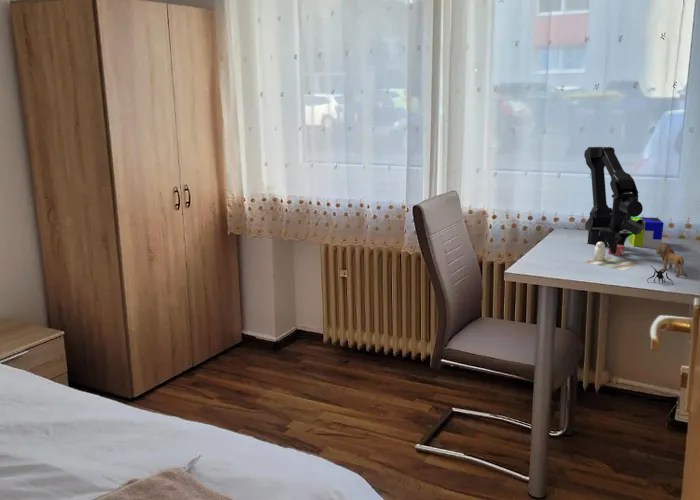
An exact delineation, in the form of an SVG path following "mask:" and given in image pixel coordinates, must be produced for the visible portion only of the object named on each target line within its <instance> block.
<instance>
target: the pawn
mask: <svg viewBox="0 0 700 500" xmlns="http://www.w3.org/2000/svg"><path fill="white" fill-rule="evenodd" d="M606 247H607V246H605V244H604V243H603V242H598V243H597V244H596V245H594V253H593V254H594V255H593V259H594V260H595V261H604V260H605V256H606Z"/></svg>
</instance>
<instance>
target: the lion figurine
mask: <svg viewBox="0 0 700 500" xmlns="http://www.w3.org/2000/svg"><path fill="white" fill-rule="evenodd" d="M654 250H655V253H656V255H658V256H659V257H660V258H661V260H662V261H663V268H661V270H662V271H664V270H666V269H668V268H669V269H668V270H669V271H671V270H673V268H674V270H675V272H676V274H675V277H676V278H679V277H680V275H683V276H684V277H685V278H688V277H689V276H688V275H687V274H686V273H685V271H684V264H685V259H684V257H683V256H682V255H679V254H676V253H675V251H674V249H673V248H672V246H670V245H669V244H667V243H666V242H665V243H664V242H663V243H662V242H661V244H660V246H659V247H658V248H654ZM668 264H669V265H668ZM670 267H671V268H670ZM679 267H680V269H679ZM666 271H667V270H666Z"/></svg>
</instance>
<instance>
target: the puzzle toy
mask: <svg viewBox="0 0 700 500" xmlns="http://www.w3.org/2000/svg"><path fill="white" fill-rule="evenodd" d="M631 219H632V220H636V221H638V220H639V219H642V220H644V225H645V226H644V227H645V228H644V229H642V231H641V233H640V234H637V235H634V234H632V235H630V236H629V237H628V242H629V243H630V244H631V245H632V246H633V247H636V248H654V249H657V248H658V247H659V246H660V244H662V241H663V233H664V230H663V229H664V223H665V222H663V221H662V220H661V219H660V218H659V217H644V216H643V217H642V216H637V217H631ZM629 233H631V232H629Z"/></svg>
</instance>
